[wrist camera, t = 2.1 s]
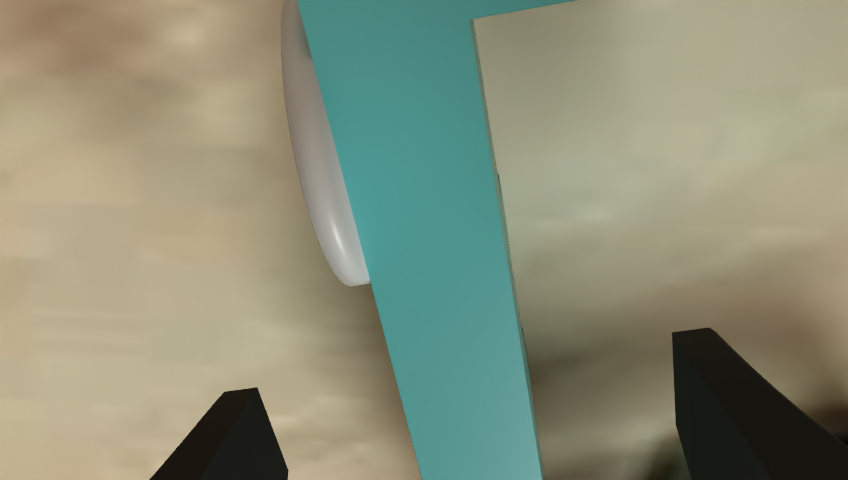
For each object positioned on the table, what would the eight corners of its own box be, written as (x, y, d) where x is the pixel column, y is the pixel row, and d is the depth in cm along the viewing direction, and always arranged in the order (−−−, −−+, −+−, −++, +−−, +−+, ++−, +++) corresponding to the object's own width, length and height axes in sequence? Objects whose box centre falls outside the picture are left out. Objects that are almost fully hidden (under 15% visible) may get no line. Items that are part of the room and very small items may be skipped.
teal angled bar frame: (463, 542, 21) (467, 758, 16) (312, -96, 13) (236, -34, 9) (874, 501, 20) (1004, 721, 15) (966, -228, 12) (1287, -240, 7)
